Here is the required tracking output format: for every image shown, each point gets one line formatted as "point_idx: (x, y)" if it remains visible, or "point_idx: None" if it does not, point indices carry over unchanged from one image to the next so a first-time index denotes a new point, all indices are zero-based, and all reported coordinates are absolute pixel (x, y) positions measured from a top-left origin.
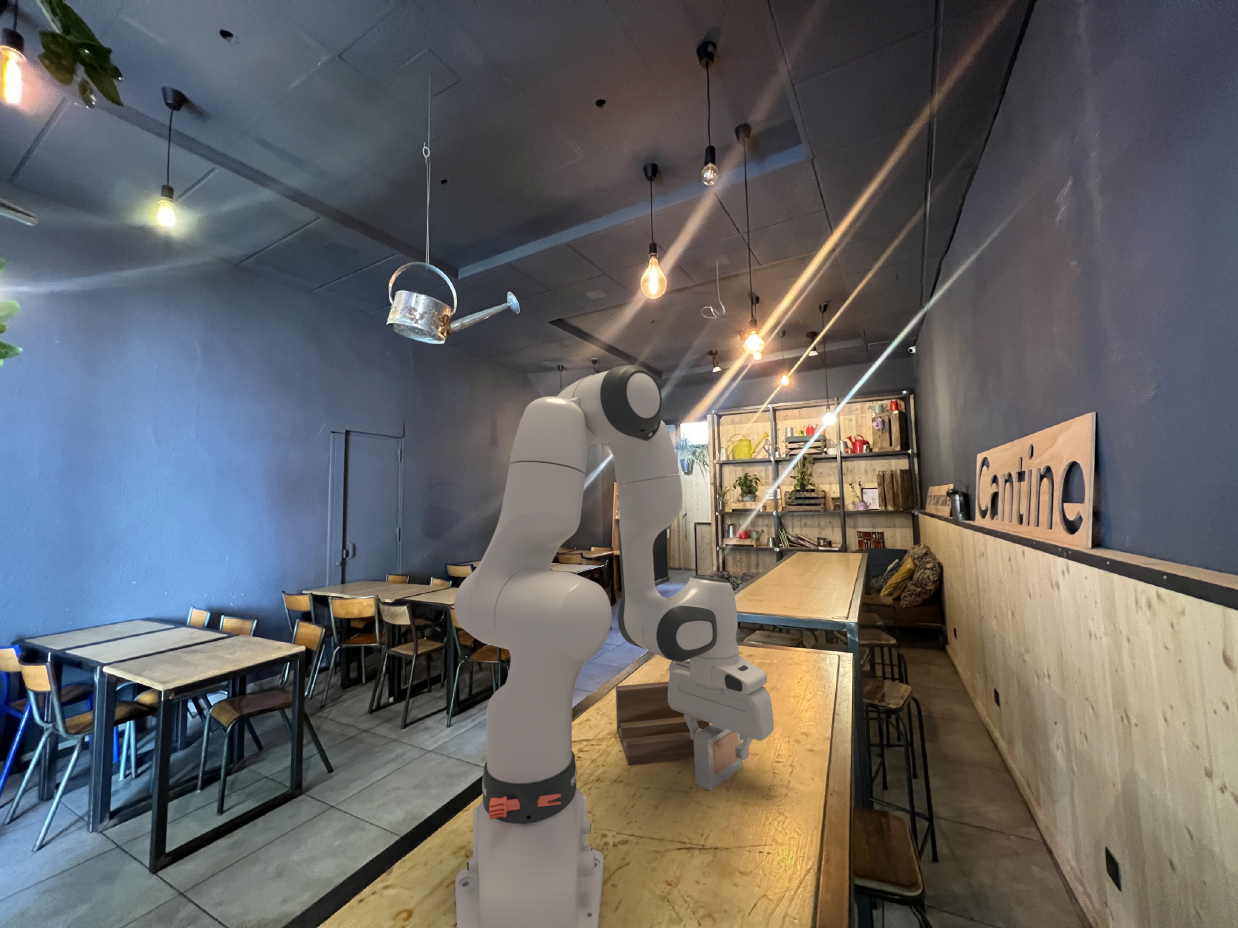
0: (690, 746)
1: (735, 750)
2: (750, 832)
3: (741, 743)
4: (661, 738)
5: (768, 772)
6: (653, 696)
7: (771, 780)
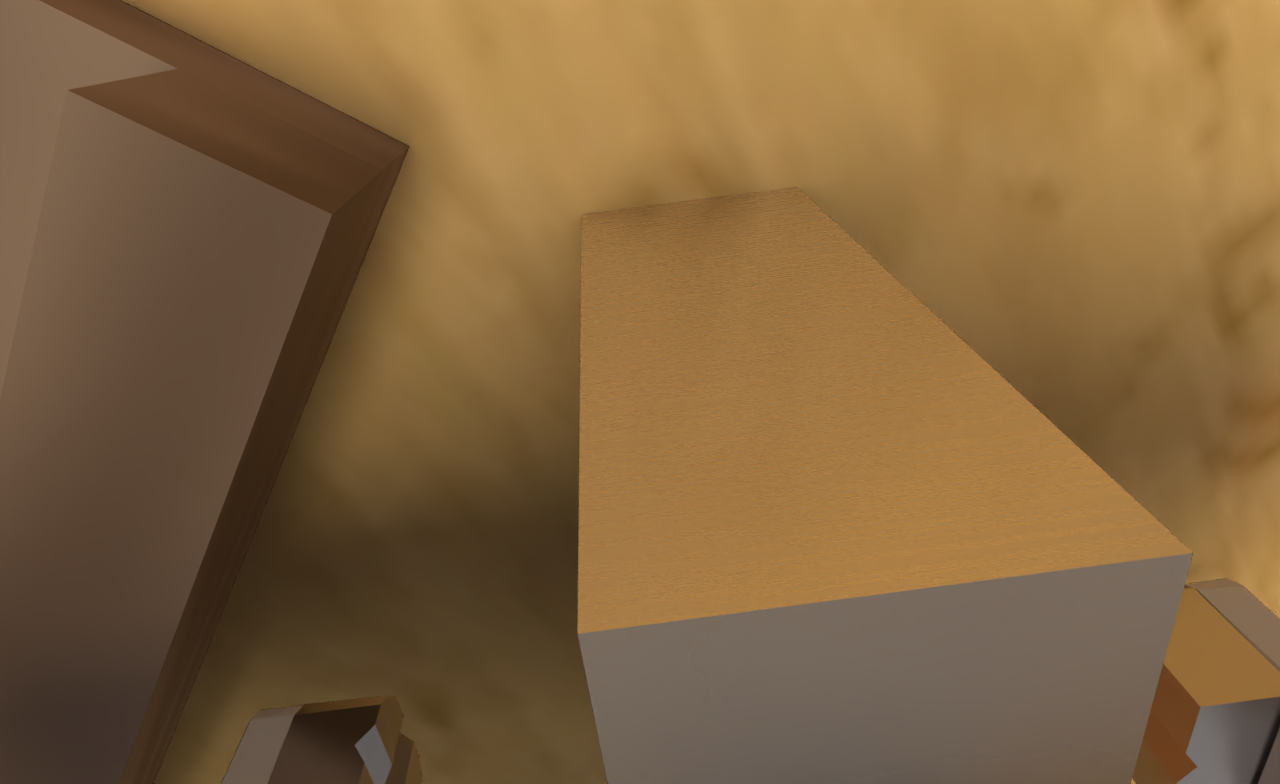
0: (214, 578)
1: (1138, 782)
2: None
3: (901, 289)
4: None
5: (1118, 40)
6: None
7: (1206, 170)
